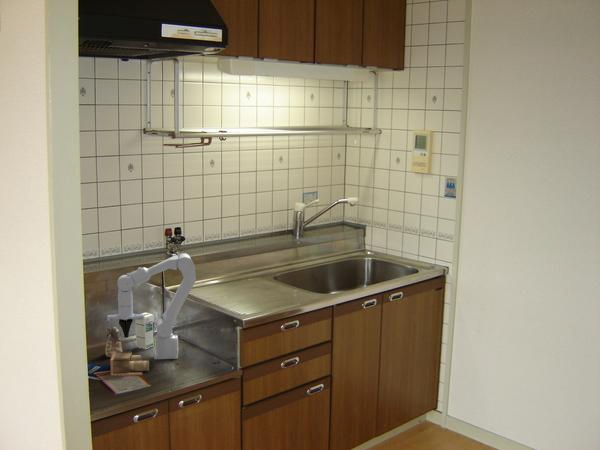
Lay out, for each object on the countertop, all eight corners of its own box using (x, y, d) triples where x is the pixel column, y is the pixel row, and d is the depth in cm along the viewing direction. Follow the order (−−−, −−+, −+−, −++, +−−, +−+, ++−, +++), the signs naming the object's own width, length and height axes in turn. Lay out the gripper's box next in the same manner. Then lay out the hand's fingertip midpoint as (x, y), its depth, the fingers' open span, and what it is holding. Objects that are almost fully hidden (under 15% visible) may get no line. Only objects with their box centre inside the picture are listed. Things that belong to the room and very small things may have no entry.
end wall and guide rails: (145, 364, 284) (144, 349, 283) (142, 375, 272) (141, 360, 271) (114, 365, 283) (114, 350, 282) (110, 376, 271) (109, 361, 270)
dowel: (149, 365, 280) (148, 358, 278) (148, 373, 277) (147, 365, 275) (119, 366, 279) (118, 359, 277) (118, 374, 276) (117, 366, 273)
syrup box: (145, 349, 301) (145, 317, 299) (135, 347, 305) (134, 314, 302) (155, 346, 306) (154, 313, 304) (145, 343, 309) (144, 311, 307)
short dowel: (141, 361, 288) (141, 353, 287) (140, 364, 285) (140, 356, 284) (121, 362, 287) (121, 354, 287) (120, 364, 284) (120, 357, 283)
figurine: (120, 357, 292) (119, 329, 290) (103, 357, 292) (102, 329, 290) (125, 351, 299) (124, 324, 297) (108, 351, 299) (107, 324, 297)
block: (132, 365, 282) (131, 351, 281) (129, 373, 273) (129, 359, 272) (116, 366, 281) (116, 351, 280) (113, 374, 272) (113, 359, 272)
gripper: (105, 307, 282) (106, 340, 284) (142, 307, 283) (143, 339, 285) (108, 303, 289) (109, 335, 291) (144, 302, 290) (145, 334, 292)
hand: (126, 337), depth 289 cm, fingers closed
